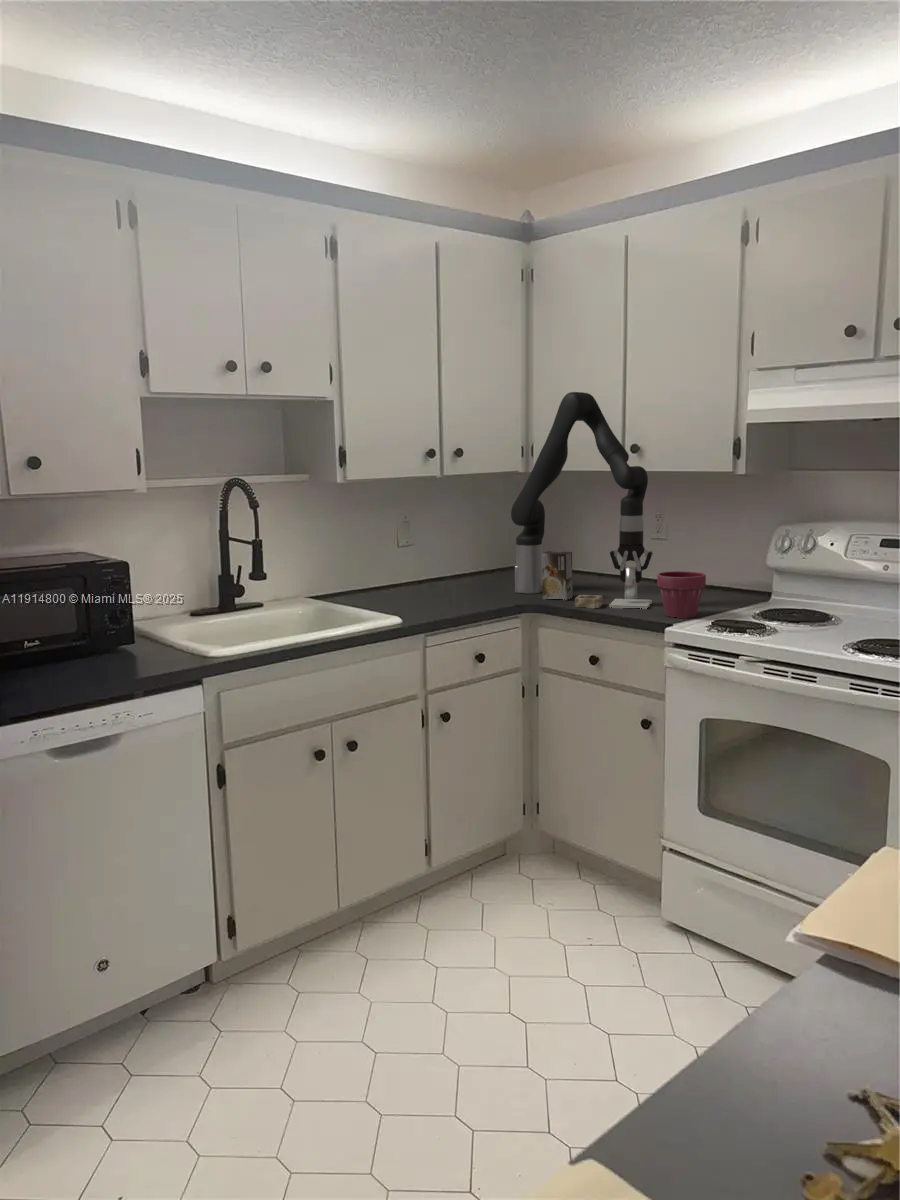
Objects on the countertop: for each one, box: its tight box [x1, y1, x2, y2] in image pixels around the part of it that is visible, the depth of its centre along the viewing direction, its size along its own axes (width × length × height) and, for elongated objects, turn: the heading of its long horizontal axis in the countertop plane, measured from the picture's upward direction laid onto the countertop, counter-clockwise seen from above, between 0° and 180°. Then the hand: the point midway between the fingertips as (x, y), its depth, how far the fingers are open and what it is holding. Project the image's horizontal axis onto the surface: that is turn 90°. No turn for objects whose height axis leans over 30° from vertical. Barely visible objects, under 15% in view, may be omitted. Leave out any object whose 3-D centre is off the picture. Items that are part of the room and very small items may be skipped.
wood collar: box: [574, 594, 603, 609], centre depth 289 cm, size 8×8×3 cm
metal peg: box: [623, 566, 638, 599], centre depth 287 cm, size 4×4×10 cm
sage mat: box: [608, 598, 653, 610], centre depth 288 cm, size 12×12×1 cm
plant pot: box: [656, 570, 707, 619], centre depth 268 cm, size 14×14×13 cm
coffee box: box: [542, 550, 574, 601], centre depth 303 cm, size 9×6×16 cm
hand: (630, 582), depth 287 cm, fingers closed on metal peg, 4 cm apart
